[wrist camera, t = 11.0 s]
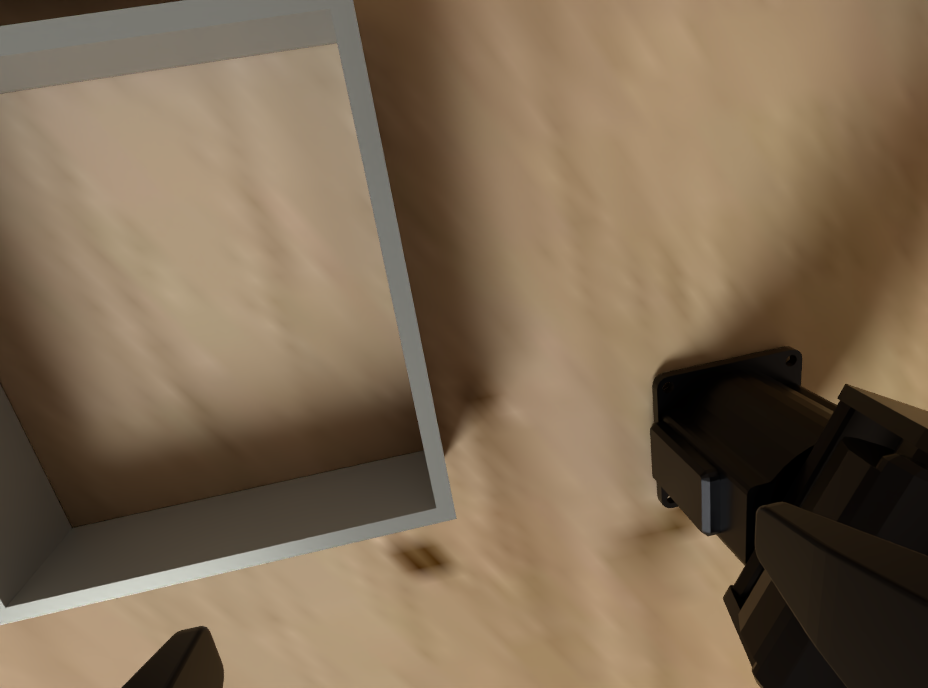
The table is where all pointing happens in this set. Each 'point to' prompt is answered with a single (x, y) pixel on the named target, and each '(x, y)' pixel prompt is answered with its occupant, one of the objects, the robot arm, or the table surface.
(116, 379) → the table surface
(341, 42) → the tub
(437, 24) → the table surface
